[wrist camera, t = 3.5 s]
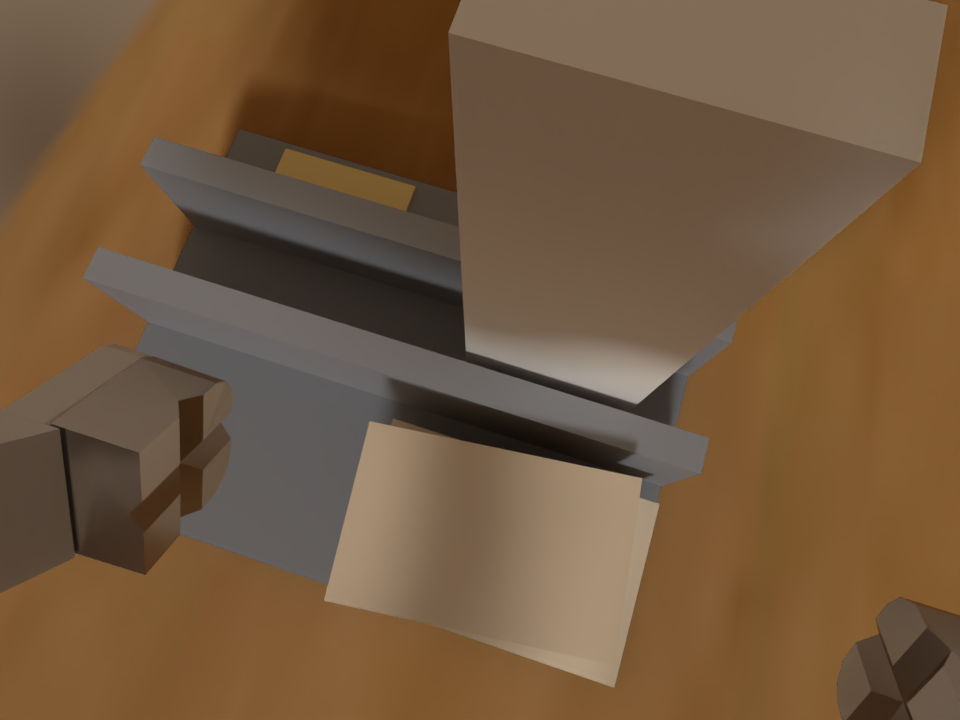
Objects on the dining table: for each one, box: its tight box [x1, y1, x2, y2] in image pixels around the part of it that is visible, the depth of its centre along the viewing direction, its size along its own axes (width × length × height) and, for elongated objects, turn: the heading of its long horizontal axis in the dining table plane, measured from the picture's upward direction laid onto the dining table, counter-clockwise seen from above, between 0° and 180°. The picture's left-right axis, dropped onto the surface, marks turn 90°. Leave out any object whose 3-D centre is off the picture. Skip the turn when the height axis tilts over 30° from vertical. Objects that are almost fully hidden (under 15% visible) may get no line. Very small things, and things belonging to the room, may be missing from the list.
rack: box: [83, 129, 737, 585], centre depth 21 cm, size 18×14×5 cm
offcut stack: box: [324, 419, 659, 687], centre depth 19 cm, size 8×5×5 cm, turn 72°
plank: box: [448, 0, 948, 412], centre depth 15 cm, size 5×2×16 cm, turn 72°
